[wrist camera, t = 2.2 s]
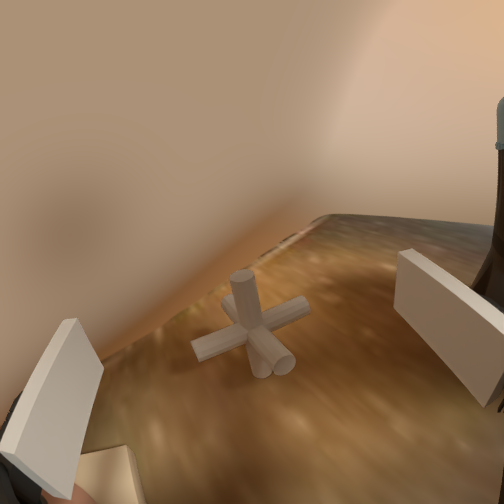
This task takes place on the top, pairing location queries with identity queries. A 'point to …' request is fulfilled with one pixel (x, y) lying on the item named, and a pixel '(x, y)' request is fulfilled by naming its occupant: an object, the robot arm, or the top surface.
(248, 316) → the grey toy jack
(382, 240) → the top surface
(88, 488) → the board
